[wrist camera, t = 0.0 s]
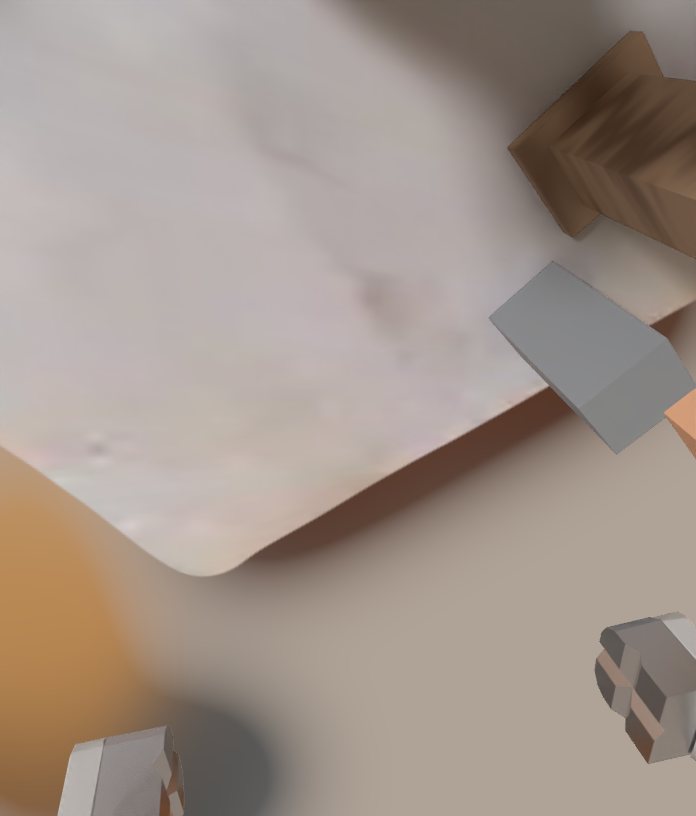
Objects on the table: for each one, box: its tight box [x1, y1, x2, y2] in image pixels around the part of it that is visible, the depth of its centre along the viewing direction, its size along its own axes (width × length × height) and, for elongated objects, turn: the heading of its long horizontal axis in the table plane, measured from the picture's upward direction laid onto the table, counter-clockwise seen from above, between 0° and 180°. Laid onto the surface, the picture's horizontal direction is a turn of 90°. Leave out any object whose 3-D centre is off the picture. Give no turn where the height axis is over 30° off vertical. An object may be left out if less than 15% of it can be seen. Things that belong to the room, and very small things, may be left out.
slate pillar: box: [489, 262, 696, 454], centre depth 47 cm, size 7×6×15 cm
